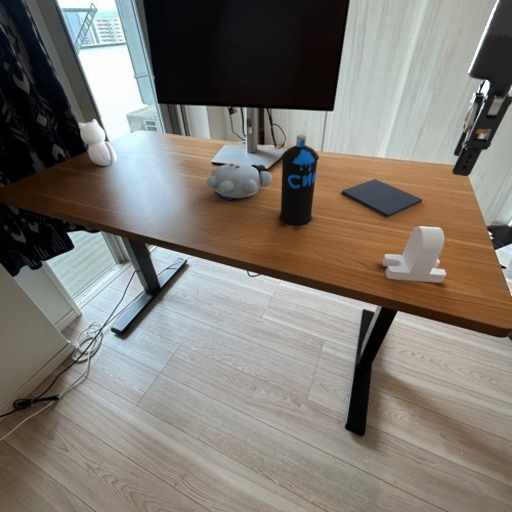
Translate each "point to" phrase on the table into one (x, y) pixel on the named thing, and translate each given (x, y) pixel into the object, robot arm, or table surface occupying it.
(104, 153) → the cat figurine
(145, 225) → the table surface
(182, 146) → the table surface
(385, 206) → the felt mat
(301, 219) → the aerosol can
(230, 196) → the figurine
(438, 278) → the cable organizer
